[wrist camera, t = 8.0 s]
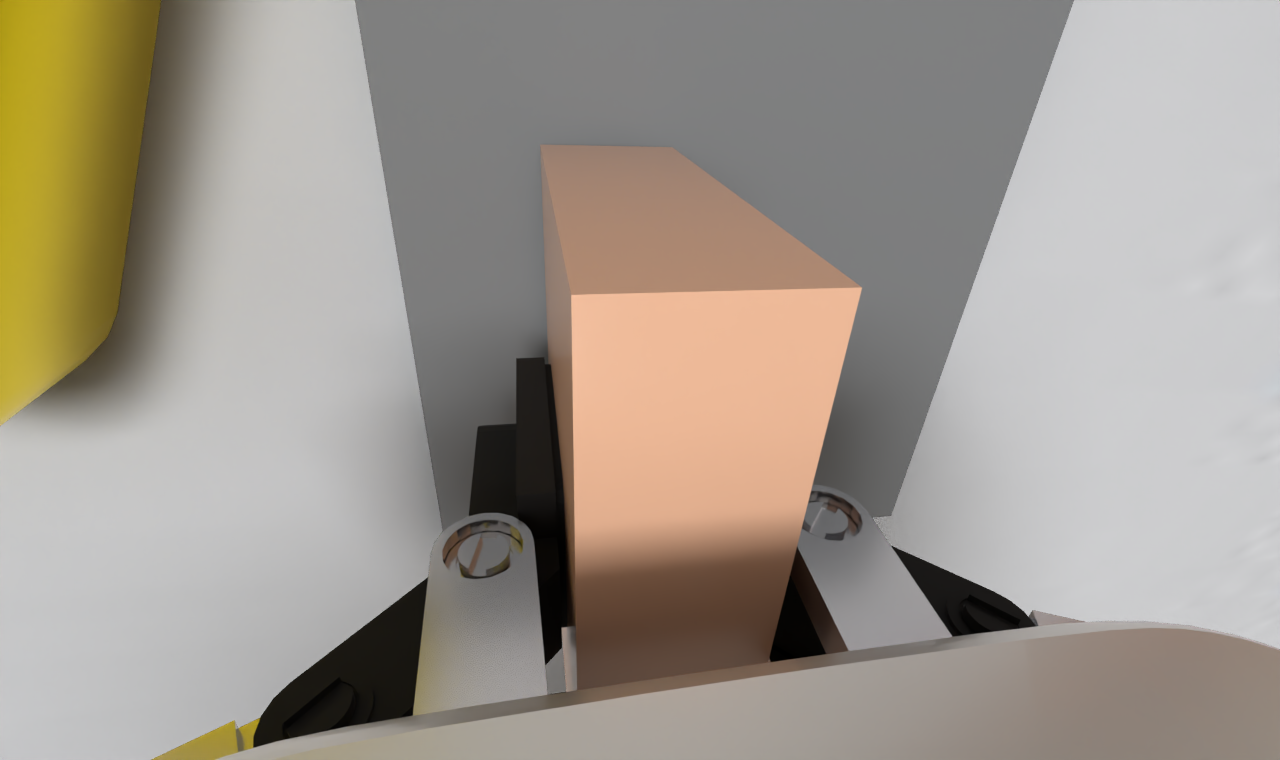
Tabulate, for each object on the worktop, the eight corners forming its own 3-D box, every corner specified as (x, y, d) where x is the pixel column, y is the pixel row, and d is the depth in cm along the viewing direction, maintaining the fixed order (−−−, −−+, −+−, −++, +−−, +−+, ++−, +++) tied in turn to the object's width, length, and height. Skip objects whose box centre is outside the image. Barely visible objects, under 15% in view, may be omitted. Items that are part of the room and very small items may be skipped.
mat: (880, 502, 18) (891, 515, 18) (450, 543, 16) (447, 560, 16) (1139, -266, 10) (1173, -282, 9) (297, -416, 7) (281, -449, 7)
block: (645, 540, 16) (721, 845, 10) (555, 549, 15) (579, 873, 9) (672, 147, 11) (862, 287, 5) (539, 144, 10) (571, 293, 4)
